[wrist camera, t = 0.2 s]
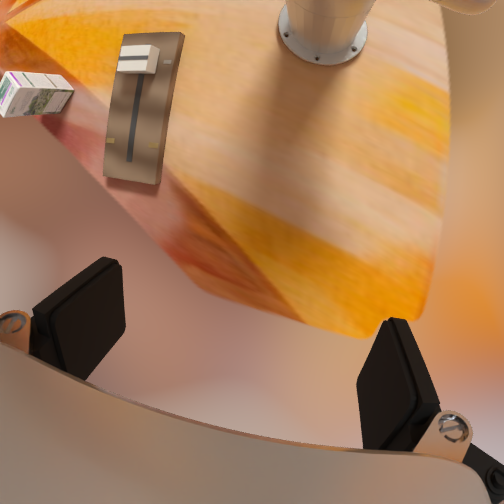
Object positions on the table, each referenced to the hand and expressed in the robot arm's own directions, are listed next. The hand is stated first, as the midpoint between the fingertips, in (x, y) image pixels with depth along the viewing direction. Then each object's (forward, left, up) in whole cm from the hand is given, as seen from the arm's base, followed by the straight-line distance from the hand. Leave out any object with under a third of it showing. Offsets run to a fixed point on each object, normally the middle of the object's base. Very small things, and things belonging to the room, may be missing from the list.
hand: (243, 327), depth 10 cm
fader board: (-8, -25, -36) cm, 45 cm away
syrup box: (-10, -44, -37) cm, 58 cm away
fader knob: (-15, -25, -34) cm, 44 cm away
